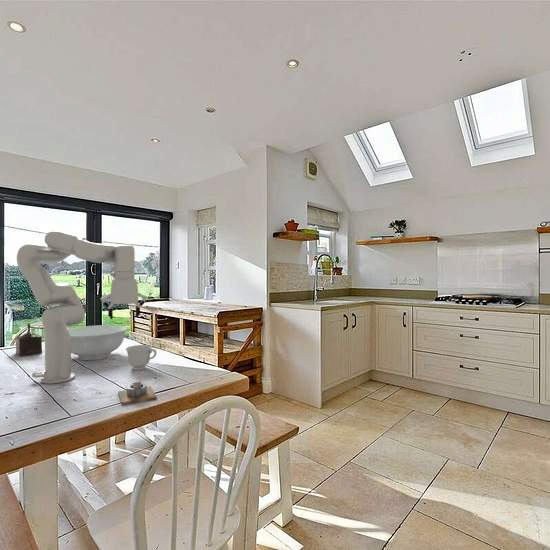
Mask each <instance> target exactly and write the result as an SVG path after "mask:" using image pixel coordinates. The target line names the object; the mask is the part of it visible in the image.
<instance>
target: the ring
mask: <svg viewBox="0 0 550 550" xmlns="http://www.w3.org/2000/svg"><path fill="white" fill-rule="evenodd" d="M147 387H148V384H147V383H144V382H141V387H140V388H133V383H131V384H128V385H127V386H126V390H127V397H133V398H135V397H141V396H144V395H146V394H147Z"/></svg>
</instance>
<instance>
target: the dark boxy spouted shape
mask: <svg viewBox="0 0 550 550" xmlns="http://www.w3.org/2000/svg"><path fill="white" fill-rule="evenodd" d="M26 327H27V332H26V333H24V334H22V335H18V336H15V353H16V355H17V356H18V357H20V358H21V357H27V356H33V355H37V354H39V355H40V354H42V353H43V343H42V342H43V338H42V336H41V335H40V334H37V333H34V332H31V329H35V330H36V329H37V330H44V328H43V326H31V323H27V326H26Z"/></svg>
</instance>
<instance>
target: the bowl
mask: <svg viewBox="0 0 550 550" xmlns="http://www.w3.org/2000/svg"><path fill="white" fill-rule="evenodd" d="M67 330H68V331H69V333H70V336H71V355H75V356H78V357H77V358H78V360H82V361H94V360H101V359H106V358H109V357H110V356H112V355H111V354H112V352H114V351H116V350H117V349H119V348H120V346H121V345H122V344H123V342H124V339H125V333H126V332H127V331H128V327H126V326H124V325H123V326H122V325H115V324H114V325H113V324H99V325H87V326H78V327H73V328H67Z"/></svg>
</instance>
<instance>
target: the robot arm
mask: <svg viewBox="0 0 550 550" xmlns="http://www.w3.org/2000/svg"><path fill="white" fill-rule="evenodd" d="M135 252H136V251H135V247H134V246H133V245H128V244H127V245H126V244H117V245H116V244H106V243H96V242H90V241H88V240H87V238H86V237H84V236H82V235H79V234H77V233H76V232H73V231H65V230H64V231H63V230H56V229H55V230H51V231H49V232H48V233H46V235H45V236H44V243H27V244H24V245H22V246H21V247H19V248H18V250H17V254H16V263H17V267H18V268H19V270H20V272H21V273H22V275H23V277H24V278H25V279H26V281H27V283H28V285H29V288H30V290H31V291H32V294H33V296H34V297H35V300H36V302H37V303H38V304H39V305H40V306H43V307H48V308H47V309H45V310H44V311H43V313H42V314H41V322H42V328H44V329H43V331H44V333H43V334H44V370H41V371H36V372H35V371H34V372H32V378H35V379H37V378H40V383H42V384H45V385H46V384H49V385H50V384H51V385H53V384H61V383H66V382H69V381H72V380H73V379H75V377H76V374H75V373H74V372H72V353H71V336H70V333H69V331H68V330H67V329H68V328H67V327H72V326H75V325H79V324H81V323H82V322H83V321H84V320H85V317H86V312H85V309H84V307H83V304H82V302H81V300H80V299H79V296H78V294H77V292H76V291H75V289H74V288H73V286H72V285H70V284H68V283H65V282H64V283H63V282H61V283H60V282H59V283H57V282H55V281H54V280H53V279H52V277H51V274H50V272H48V270H47V269H45V267H43V266H42V265H41V264H59V263H60V262H63V261H65V259H67V258H68V257H70V256H71V255H72V256H75V257H76V258H78V259H79V260H80V259H81V260H83V261H87V262H90V263H96V264H113V265H114V268H113V270H114V271H113V272H110V273H109V274H110V277H113V279H112V281H111V287H110V293H107V294H105V295H103V296H102V297H100V300H101V302H102V304H103V305H104V307H106V309H108V310H107V312H108V313H107V315H108V318H109V319H110V320H113V318H114V317H113V313H114V312H113V311H114V310H113V307H114V306H115V305H135V306H136V307H135V318H139V316H140V315H141V307H142V306H143V305H144V304H145V302H146V300H147V299H148V297H147V295H145V294H141V293H140V292H139V288H138V287H139V286H138V281H137V280H138V279H136V278H135V258H136V257H135V255H136V254H135ZM139 297H140V298H141V301H140V302H139ZM109 298H110V303H108V302H107V301H106V300H107V299H109ZM50 306H52V307H50Z"/></svg>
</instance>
